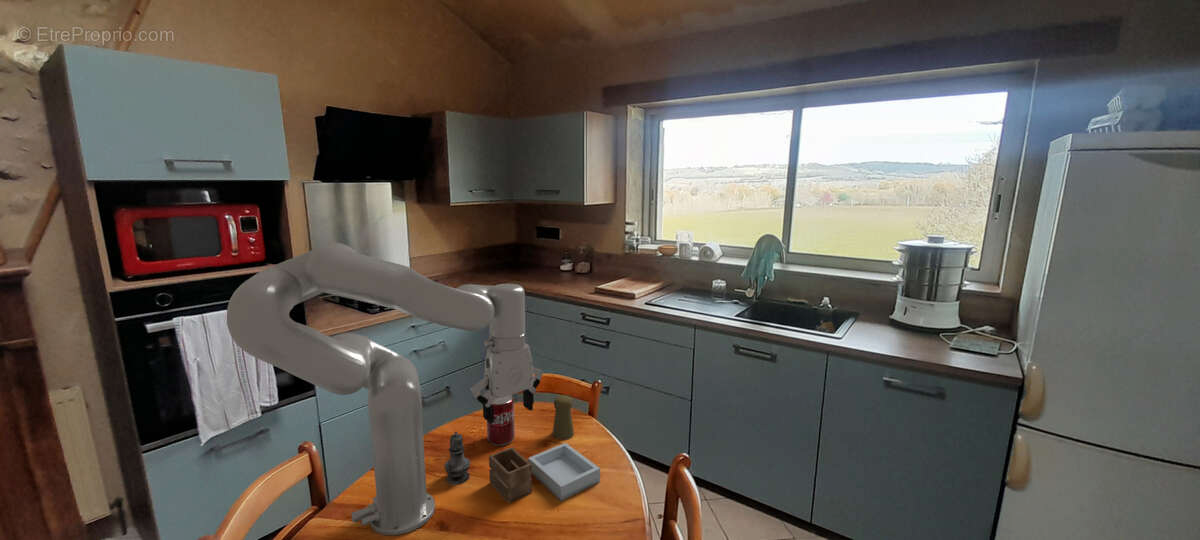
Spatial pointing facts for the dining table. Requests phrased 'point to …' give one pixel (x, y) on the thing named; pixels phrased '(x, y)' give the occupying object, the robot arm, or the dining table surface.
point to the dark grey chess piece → (457, 461)
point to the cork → (563, 418)
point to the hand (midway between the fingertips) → (509, 414)
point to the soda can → (502, 422)
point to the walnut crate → (510, 474)
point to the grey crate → (564, 471)
